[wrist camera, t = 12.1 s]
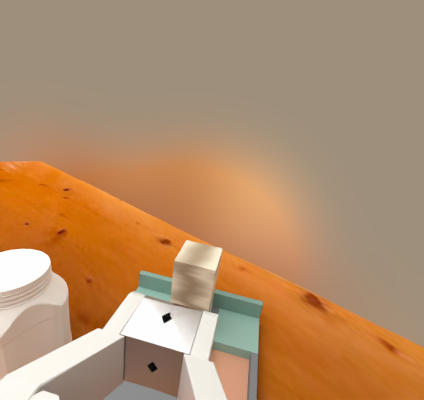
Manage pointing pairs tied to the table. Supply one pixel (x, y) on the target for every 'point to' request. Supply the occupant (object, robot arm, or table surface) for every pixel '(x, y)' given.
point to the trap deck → (222, 346)
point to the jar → (30, 309)
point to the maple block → (195, 275)
